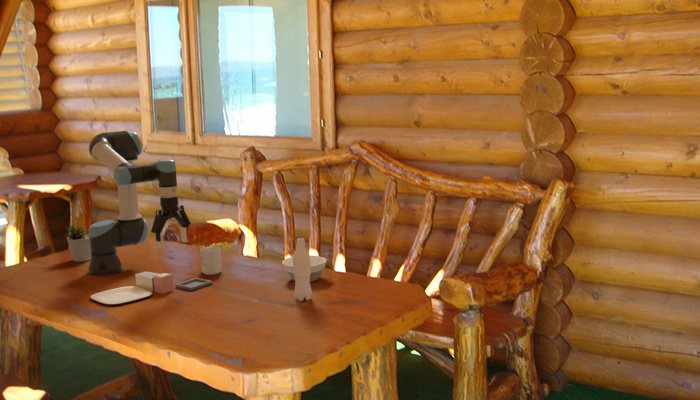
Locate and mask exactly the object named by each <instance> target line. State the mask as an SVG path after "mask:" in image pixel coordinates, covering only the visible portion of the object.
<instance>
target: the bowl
mask: <svg viewBox="0 0 700 400" xmlns="http://www.w3.org/2000/svg"><path fill="white" fill-rule="evenodd" d="M310 259H311V260H310V267H311V274H310V283H311V282H315V281H317V280H318V279H319V278H320V276H321V274H322V273H323V271H324V269H325V268H326V265H327V264H326V263H327V261H328V260H327V258H325V257H322V256H319V255H310ZM281 264H282V266H283V269H284V270H285V272H286V273H287V275H288V276H289V278H291V279H292V281H293V282H295V276H294V273H293V256H292V257H291V256H290V257H287V258H286V259H283V260H282V262H281Z"/></svg>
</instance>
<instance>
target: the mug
mask: <svg viewBox="0 0 700 400" xmlns="http://www.w3.org/2000/svg"><path fill="white" fill-rule="evenodd" d="M199 251H200V263H201V272H202V273H203V274H204V275H207V276H213V275H214V274H215V275H219V274H220V273H221V271H222V257H221V248H220V247H218V246H207V247H203V248H200V250H199Z"/></svg>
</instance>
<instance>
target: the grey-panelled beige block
mask: <svg viewBox="0 0 700 400" xmlns="http://www.w3.org/2000/svg"><path fill="white" fill-rule="evenodd" d="M159 274H160V273H158V272H157V273H156V272H150V271H143V272H140V273H136V274H135V287H139V288H142V289H145V290H148V291H150V292H152V293H153V292H154V293H155V290H154V278H153V276H156V275H159Z"/></svg>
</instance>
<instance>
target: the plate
mask: <svg viewBox="0 0 700 400" xmlns="http://www.w3.org/2000/svg"><path fill="white" fill-rule="evenodd" d="M152 295H153V292H152V291H148V290H145V289H142V288H139V287H136V286H132V285H129V286H122V287H121V286H120V287H116V288H112V289H108V290H104V291H100V292H96V293H93V294H92V295H90V299H91V300H93V301H95V302H97V303H99V304H103V305H106V306H107V305H108V306H109V305H110V306H115V305H122V304H127V303H131V302H134V301H135V302H136V301H139V300H143V299H145V298H149V297H151V296H152Z"/></svg>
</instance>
